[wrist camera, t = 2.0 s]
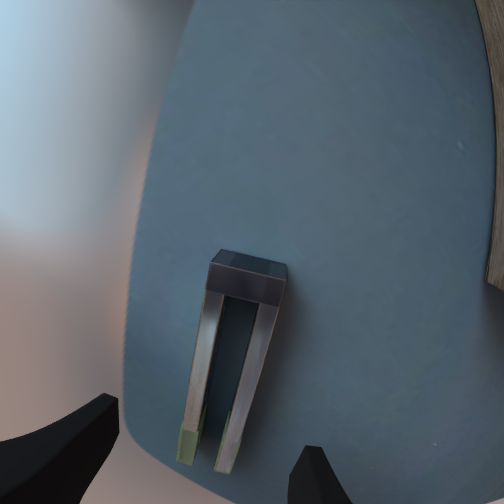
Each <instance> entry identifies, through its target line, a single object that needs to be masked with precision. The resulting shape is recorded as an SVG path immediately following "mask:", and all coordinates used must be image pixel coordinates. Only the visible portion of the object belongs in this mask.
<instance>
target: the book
mask: <svg viewBox="0 0 504 504" xmlns="http://www.w3.org/2000/svg"><path fill="white" fill-rule="evenodd" d="M474 1H475V4H476V8H477V11H478V15H479V19H480V23H481V27H482V32H483V36H484V41H485V46H486V51H487V57H488V63H489V69H490V76H491V84H492V92H493V102H494V114H495V132H496V184H495V202H494V214H493V224H492V233H491V241H490V249H489V255H488V262H487V267H486V273H485V278H484V280H485V281H487V282H489V283H490V284H492V285H494V286H495V287H497V288H499V289H500V290H502V291H504V0H474Z"/></svg>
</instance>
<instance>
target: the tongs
mask: <svg viewBox="0 0 504 504" xmlns="http://www.w3.org/2000/svg"><path fill="white" fill-rule="evenodd" d="M286 283H287V274H286V264H283V263H279V262H275V261H271V260H266V259H262V258H258V257H254V256H249V255H245V254H241V253H237V252H233V251H228V250H224V249H221V250H220V251H219V252H218V253H217V255H216V256H215V257H214V258H213V260H212V261H211V262H210V266H209V271H208V276H207V282H206V287H205V293H204V298H203V304H202V309H201V315H200V320H199V326H198V332H197V338H196V343H195V349H194V355H193V361H192V367H191V374H190V380H189V386H188V393H187V399H186V406H185V412H184V419H183V422H182V424H181V427H180V433H179V441H178V449H177V456H176V461H177V462H180V463H184V464H187V465H191V466H192V465H193V463H194V460H195V457H196V453H197V450H198V447H199V443H200V440H201V436H202V431H203V426H204V421H205V416H206V411H207V405H206V402H207V397H208V392H209V388H210V383H211V378H212V373H213V368H214V363H215V358H216V354H217V349H218V344H219V339H220V335H221V330H222V325H223V320H224V316H225V311H226V306H227V302H228V297H229V296H231V297H235V298H239V299H243V300H247V301H251V302H256V303H258V305H257V309H256V313H255V317H254V321H253V325H252V329H251V333H250V337H249V341H248V345H247V349H246V352H245V356H244V360H243V364H242V368H241V372H240V376H239V379H238V383H237V387H236V391H235V395H234V398H233V402H232V406H231V410H230V411H229V412H228V414H227V418H226V422H225V426H224V429H223V433H222V437H221V441H220V445H219V449H218V453H217V457H216V462H215V466H214V471H216V472H220V473H225V474H231V471H232V469H233V466H234V463H235V460H236V457H237V454H238V451H239V448H240V445H241V441H242V435H243V430H244V426H245V423H246V420H247V417H248V414H249V411H250V407H251V404H252V401H253V398H254V394H255V391H256V388H257V385H258V381H259V378H260V375H261V371H262V368H263V365H264V361H265V358H266V354H267V351H268V347H269V344H270V341H271V337H272V334H273V330H274V327H275V323H276V319H277V316H278V312H279V309H280V305H281V301H282V298H283V294H284V290H285V287H286Z"/></svg>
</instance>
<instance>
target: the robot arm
mask: <svg viewBox="0 0 504 504" xmlns="http://www.w3.org/2000/svg"><path fill="white" fill-rule="evenodd" d="M118 435H119V410H118V398H116V397H113V396H111V395H108V394H106V393H103V394H101V395H100V396H98V397H97V398H95V399H93V400H92V401H90V402H89V403H87V404H86V405H84V406H82V407H81V408H79V409H78V410H76V411H74V412H72V413H71V414H69V415H67V416H65V417H64V418H62V419H60V420H58V421H56V422H54V423H52V424H50V425H48V426H46V427H44V428H41V429H39V430H37V431H34V432H32V433H29V434H26V435H23V436H20V437H16V438H13V439H9V440H5V441H1V442H0V504H79V503H80V501H81V499H82V497H83V495H84V493H85V491H86V490H87V488H88V486H89V485H90V483H91V482H92V480H93V479H94V477H95V475H96V474H97V473H98V471H99V469H100V468H101V466H102V465H103V463H104V462H105V460H106V458H107V457H108V455H109V454H110V452H111V450H112V448H113V446H114V443H115V441H116V439H117V437H118ZM288 504H352V502H351V501H350V499H349V498H348V496H347V495H346V493H345V491H344V490H343V488H342V486H341V484H340V483H339V481H338V479H337V477H336V476H335V474H334V472H333V470H332V468H331V466H330V464H329V462H328V460H327V458H326V456H325V454H324V451H323V449H322V448H321V447H316V446H308V445H305V447H304V449H303V451H302V453H301V455H300V457H299V459H298V461H297V462H296V464H295V466H294V468H293V470H292V472H291V473H290V476H289V486H288Z"/></svg>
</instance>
